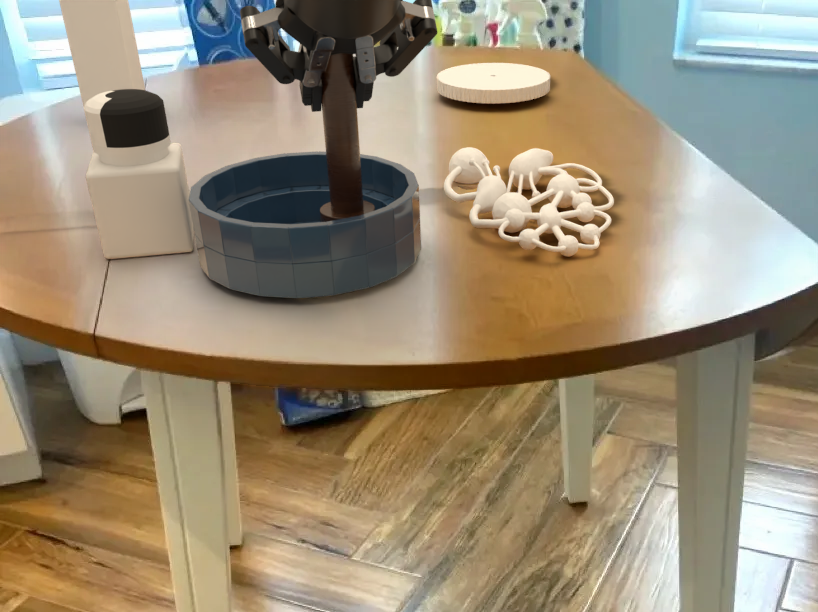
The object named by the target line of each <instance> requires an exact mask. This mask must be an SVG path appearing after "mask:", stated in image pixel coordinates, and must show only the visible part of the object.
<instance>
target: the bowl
mask: <svg viewBox="0 0 818 612" xmlns="http://www.w3.org/2000/svg"><path fill="white" fill-rule="evenodd" d="M360 162H361V176H362V191H363V200H364V201H368V202H370V203H372V204H373V205H374V206H375V211H372V212H369V213H366V214H363V215H360V216H355V217H349V218H344V219H338V220H333V221H328V222H321V219H320V208H321V207H322V206H323V205H324V204H326V203H329V202H330V192H329V181H328V170H327V158H326V151H317V150H316V151H303V152H286V153H285V152H284V153H277V154H272V155H271V154H270V155H266V156H265V155H264V156H259V157H253V158H249V159H246V160H243V161H239V162H235V163H232V164H228V165H225V166H223V167H220V168H218V169H217V170H215V171H212V172H210V173H207V174H205V175H204V176H201V178H200V179H199V180H197V181H196V182H195V183H194V184H193V185H192V186H190V189H189V193H190V195H189V206H190V211H191V217H192V223H193V228H194V239H195V240H194V241H195V245H196V250H197V255H198V256H197V257H198V261H199V267H200V268H201V269H202V271H203V272H204V273H205V274H206V276H207V277H208V279H209V280H211V281H213V282H215V283H217V284H219V285H221V286H222V287H225V288H227V289H229V290H232V291H237V292H241V293H245V294H249V295H253V296H258V297H268V298H269V297H270V298H286V299H309V298H311V299H313V298H322V297H323V298H324V297H332V296H336V295H342V294H343V295H344V294H348V293H352V292H356V291H359V290H364V289H369V288H372V287H375V286H377V285H380V284H383V283H384V282H385V283H386V282H388V281H390V280H392V279H395V278H397V277H398V276H400V275H401V274H402V273H404V272H405V271H406V270H408V269H409V268H411V267H412V266H413V265H414V264H415V263H416V261H417V259H418V257H419V255H420V252H421V251H422V234H421V233H422V232H421V210H420V209H421V208H420V207H421V206H420V205H421V204H420V185H419V181H418V179H417V177H416V174H415V172H413V171H412V170H410V169H408V168H407V167H406V166H404V165H403V164H401V163H398V162H395V161H392V160H388V159H385V158H382V157H379V156H375V155H369V154H363V153H360Z"/></svg>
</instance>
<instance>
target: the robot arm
mask: <svg viewBox="0 0 818 612" xmlns="http://www.w3.org/2000/svg"><path fill="white" fill-rule="evenodd" d="M239 14H240V23H241V29H242V35H243V38H244V45H245V47H246V49H247V50H248V51H249V52H250V53H251V54H252V55H253V56H254V57H255V58H256V60H257V61H258V62H260V64H261V65H262V66H263V67H264V68H265V69H266V70H267V71H268V72H269V74H271V75H272V76H273V78H274V79H275V80H276V81H277V82H278V83H279V84H281V85H289V84H292V83H293V82H295V80H296V81H299V91H300V98H301V102H302V104H303V106H305V107H309V106H310V110H311V112H312V113H316V112H322V102H321V99H322V81H321V75H322V72H325V71H326V68H327V65H328V61H329V58H330V55H335V54H339V53H346V54H353V55H355V56H353V60H354V77H355V91H356V103H357V109H363V108H364V102H370V100H371V99H372V97H373V90H374V82H375V81H376V80H377V77H378V76H379V75H381V74H385V76H386V77H389V78H394V77H397V76H399V75H400V74H401V73H402V72H403V71H404V70H405V69H406V68H407V67H408V66H409V65H410V64H411V63H412V62H413V61H414V59H416V57H418V56H419V54H420V53H421V52H422V51H423V50H424V49H425V48H426V47H427V46H428V45H429V43H431V41H432V40H433V39H434V38H435V37H436V36H437V35H438V28H437V21H436V16H435V11H434V6H433V2H432V0H414V1H413V2H409V1H405V0H275V7H273V8H270V9H267V10H265V11H260V10H259V9H258V8H257V7H256V6H254V5H245V6H243V7H241V9H240V10H239ZM280 30H283V31H284V32H285V34H287V35H289V36H290V37H292V38H293V39H294V40H295V41H296V42H297V43H299V46H298V50H297V51H294V50H291V48H290V46H289V45H288V43H287V42H286V41H285V40H284V38H283V37H282V36H281V35H280V34H279V31H280ZM378 43H379V45H377V44H378ZM375 45H377V46H375Z"/></svg>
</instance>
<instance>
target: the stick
mask: <svg viewBox="0 0 818 612" xmlns="http://www.w3.org/2000/svg"><path fill="white" fill-rule="evenodd" d="M353 57H354V54H346V53H339V54H335V55H330V58H329V61H328V65H327V68H326V71H325V72H322V75H321V81H322V99H321V102H322V105H321V112H322V122H323V123H322V124H323V134H324V136H323V137H324V145H325V146H324V147H325V152H326V158H327V170H328V181H329V192H330V202H329V203H326V204H324V205H323V206H322V207H321V208H320V219H321V222H328V221H333V220H338V219H344V218H349V217H355V216H360V215H363V214H366V213H369V212H372V211H375V206H374V205H373V204H372V203H370V202H368V201H364V200H363V191H362V176H361V162H360V154H361V148H360V135H359V133H360V132H359V117H358V108H357V103H356V91H355V77H354V60H353Z"/></svg>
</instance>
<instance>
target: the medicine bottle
mask: <svg viewBox="0 0 818 612" xmlns="http://www.w3.org/2000/svg"><path fill="white" fill-rule="evenodd" d="M83 111H84V116H85V119H86V125H87V131H88V134H89V138H90V143H91V148H92V155H91V158H90V160H89V164H88V166H87V169H86V172H85V181H86V186H87V189H88V194H89V198H90V203H91V207H92V211H93V216H94V219H95V220H94V221H95V224H96V228H97V232H98V237H99V240H100V245H101V249H102V253H103V257H104V258H105V259H106V260H115V259H127V258H139V257H148V256H160V255H170V254H182V253H191V252H193V250H194V241H195V240H194V239H195V233H194V228H193V223H192V217H191V211H190V206H189V195H190V187H189V182H188V181H189V180H188V176H187V170H186V165H185V159H184V153H183V148H182V144H180V143H179V142H172V141H171V136H170V130H169V124H168V118H167V113H166V107H165V102H164V99H163V98H162V97H161V96H160V95H158V94H157V93H154V92H151V91H149V90H146V89H145V90H140V89H121V90H113V91H107V92H103V93H100V94H98V95H96V96H94V97H93V98H91V99H89V100H88V101H87V102H86V104H85V106H84V107H83Z"/></svg>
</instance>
